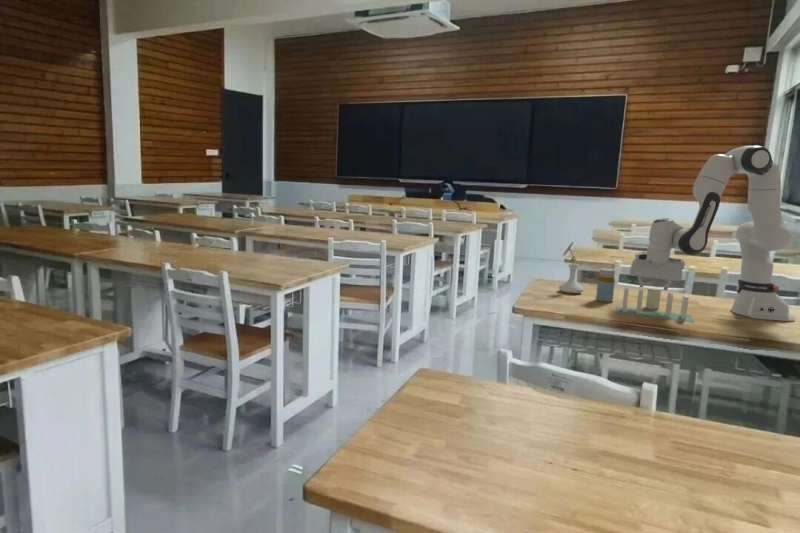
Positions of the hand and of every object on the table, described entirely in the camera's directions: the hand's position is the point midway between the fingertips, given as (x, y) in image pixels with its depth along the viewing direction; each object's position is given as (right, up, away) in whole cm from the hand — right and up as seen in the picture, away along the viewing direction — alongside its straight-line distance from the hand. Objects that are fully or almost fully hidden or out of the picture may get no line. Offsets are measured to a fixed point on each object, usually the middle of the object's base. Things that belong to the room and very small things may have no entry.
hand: (653, 288), depth 226 cm
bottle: (-16, -7, +12) cm, 21 cm away
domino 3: (+1, -11, -11) cm, 15 cm away
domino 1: (-9, -10, -6) cm, 15 cm away
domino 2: (0, -9, +2) cm, 9 cm away
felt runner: (-4, -11, -8) cm, 14 cm away
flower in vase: (-26, -3, +29) cm, 39 cm away
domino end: (-14, -9, -4) cm, 17 cm away
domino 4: (+6, -11, -13) cm, 18 cm away
